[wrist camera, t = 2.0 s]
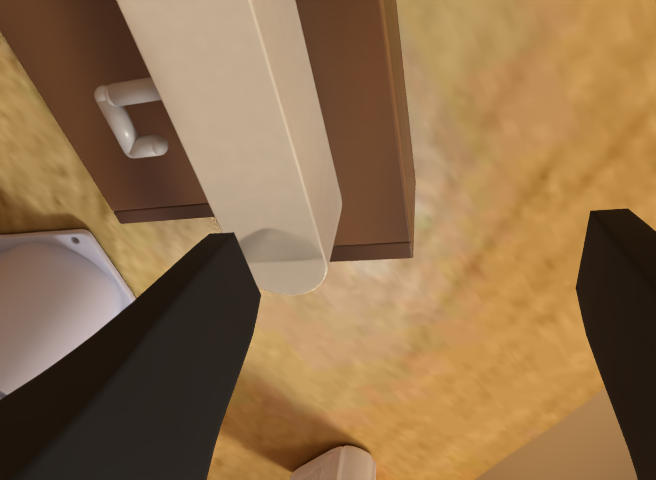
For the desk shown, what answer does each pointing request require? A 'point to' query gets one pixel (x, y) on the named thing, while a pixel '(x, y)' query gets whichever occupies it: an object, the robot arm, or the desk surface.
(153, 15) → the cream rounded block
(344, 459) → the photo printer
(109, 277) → the robot arm
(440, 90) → the desk surface
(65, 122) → the stepped wooden block
